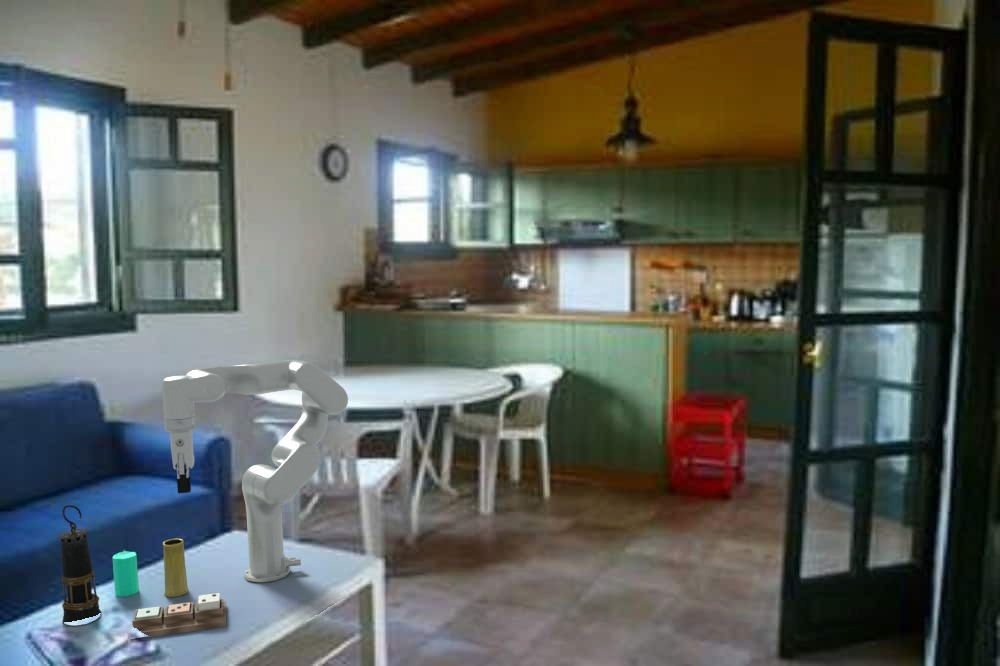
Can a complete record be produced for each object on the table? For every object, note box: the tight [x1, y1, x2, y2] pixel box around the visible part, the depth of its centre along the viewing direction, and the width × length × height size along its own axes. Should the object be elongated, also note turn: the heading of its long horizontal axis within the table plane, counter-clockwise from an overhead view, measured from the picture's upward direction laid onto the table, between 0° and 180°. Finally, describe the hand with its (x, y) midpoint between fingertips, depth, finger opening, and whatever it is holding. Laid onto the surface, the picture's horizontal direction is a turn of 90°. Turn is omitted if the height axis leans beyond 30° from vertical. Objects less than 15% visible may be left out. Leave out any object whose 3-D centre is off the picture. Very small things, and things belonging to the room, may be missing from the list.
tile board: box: [131, 597, 227, 638], centre depth 220 cm, size 22×12×4 cm, turn 107°
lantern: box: [57, 504, 102, 623], centre depth 222 cm, size 9×9×30 cm
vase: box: [162, 538, 189, 598], centre depth 238 cm, size 6×6×14 cm
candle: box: [111, 550, 140, 598], centre depth 239 cm, size 6×6×12 cm
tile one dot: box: [136, 605, 161, 620], centre depth 218 cm, size 5×5×3 cm
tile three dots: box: [168, 602, 191, 615], centre depth 220 cm, size 5×5×3 cm
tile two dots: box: [197, 592, 221, 611], centre depth 222 cm, size 5×5×3 cm
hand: (184, 492), depth 232 cm, fingers closed
